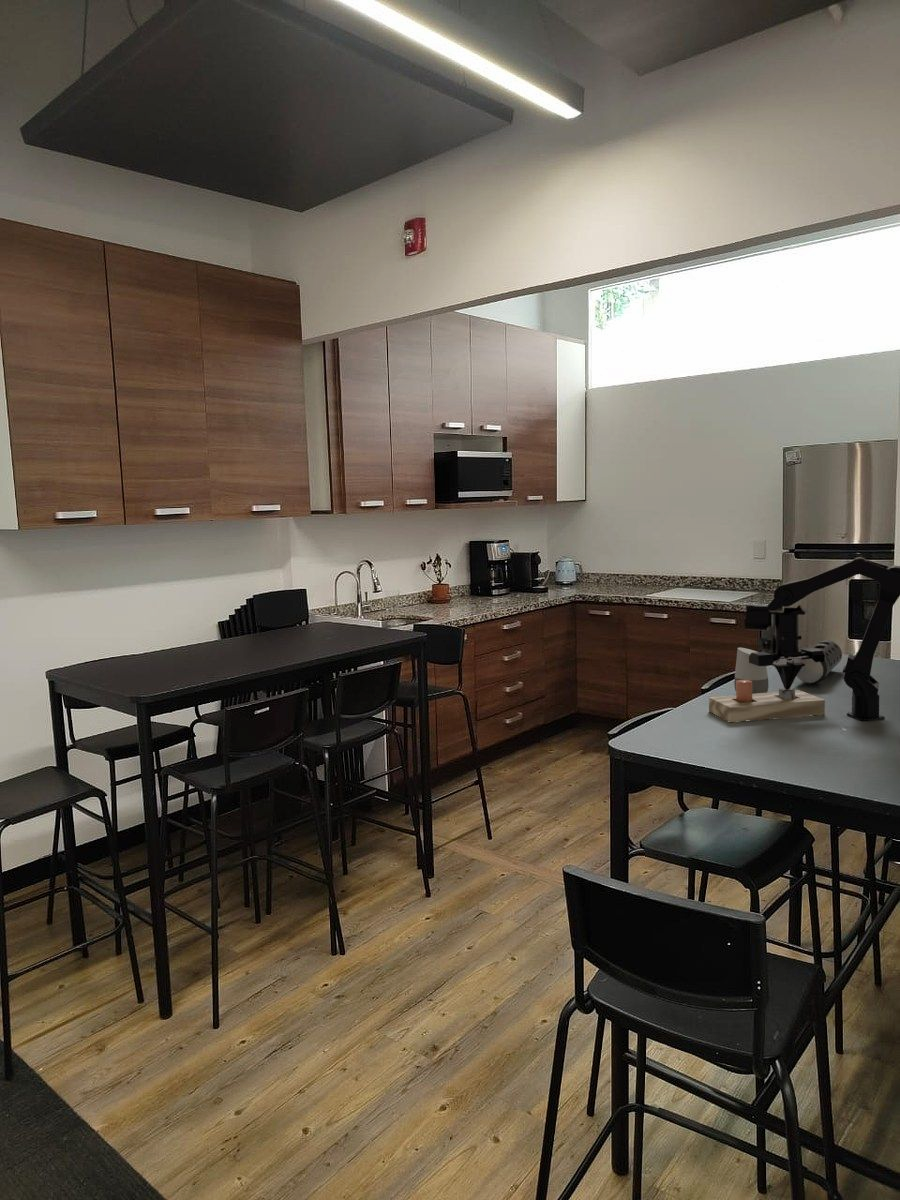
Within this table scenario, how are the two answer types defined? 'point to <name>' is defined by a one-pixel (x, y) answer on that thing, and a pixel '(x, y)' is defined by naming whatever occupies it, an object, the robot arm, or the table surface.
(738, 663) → the smart speaker
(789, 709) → the button panel
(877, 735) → the table surface
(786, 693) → the grey button
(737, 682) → the red button
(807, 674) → the muzzle brake
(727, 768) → the table surface
